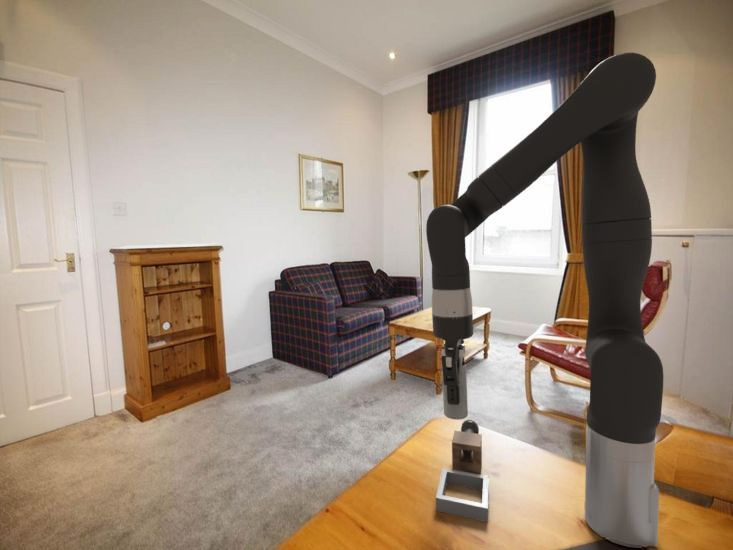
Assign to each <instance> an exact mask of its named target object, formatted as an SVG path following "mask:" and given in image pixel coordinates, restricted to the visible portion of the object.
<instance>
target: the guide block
mask: <svg viewBox="0 0 733 550" xmlns="http://www.w3.org/2000/svg"><path fill="white" fill-rule="evenodd" d="M482 435H483V434H482V433H478V434H476V433H469V432H462V431H461V430H454V432H453V437H452V440H451V441H452V442H451V459H452V460H451V462H452V463H451V464H452V466H451V467H452V470H457V471H463V472H468V473H474V474H479V475H482V467H483V466H482V465H483V464H482V463H483V458H482V457H483V456H482V455H483V451H482V449H483V445H482ZM462 449H463V450H469V451H472V452H471V454H465V453H464V452H463V450H462Z"/></svg>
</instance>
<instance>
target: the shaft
mask: <svg viewBox="0 0 733 550" xmlns="http://www.w3.org/2000/svg"><path fill="white" fill-rule="evenodd" d="M460 431H462V432H469V433H476V434H480V433H479V431H480V428H479V425H478V423H477V422H476V421H474V420H471V419H466V420H464V421H463V422H462V423H461V428H460ZM462 450H463V449H462ZM463 452H464V453H465V454H471V452H472V451H469V450H463Z"/></svg>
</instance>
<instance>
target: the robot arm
mask: <svg viewBox="0 0 733 550" xmlns="http://www.w3.org/2000/svg"><path fill="white" fill-rule="evenodd" d="M654 65H655V64H654V63H653V62H652V60H651V59H650V58H648V57H647V56H645V55H643V54H641V53H637V52H632V51H631V52H622V53H617V54H615V55H612V56H609V57H608V58H605V59H604V60H603V61H601V62H600V63H598V64H597V65H595V67H594V68H592V70H591V71H590V72H589V73H588V74H587V76H586V77H585V78H584V79H583V80H582V81H581V82H580V84H578V86H577V87H576V88H575V89H574V90H573V91H572V93H570V94H569V95H568V97H567V98H566V99H565V100H564V101H563V102H562V103H561V104H560V105H558V107H557V108H556V109H555V110H554V111H553V112H552V113H551V114H550V115H549V116H548V117H546V119H545V120H543V121H542V122H541V123H540V124H539V125H538V126H537V127H536V128H534V130H532V131H531V132H530V133H529V134H527V136H525V137H524V138H523V139H522V140H521V141H519V142H518V143H517V144H515V146H513V147H512V148H511V149H509V150H508V151H507V152H506V153H505V154H504V155H502V156H501V157H500V158H499V159H497V160H496V161H495V162H494V163H492V164H491V165H489V167H487V168H486V169H485V170H484V171H483V172H481V173H480V174H479V175H478V176H477V177H475V178H474V179H473V180H472V181H471V183H469V185H468V186H467V188H466V190H465V191H464V193H462V194H461V195H460V196H459V197H458V198H456V200H454V201H453V202H452V203H450V204H442V205H439V206H437V207H435V208H434V209H432V211H431V212H429V215H428V217H427V220H426V224H425V225H426V229H425V232H426V233H425V235H426V241H427V247H428V252H429V257H430V261H431V284H432V285H431V288H432V289H431V291H432V293H431V317H432V319H431V321H432V335H433V336H434V337H435V338H437V339H439V340H441V339H442V340H443V341H444V343H443V346H442V347H441V359H440V361H441V370H442V369H443V379H444V380H442V384H443V383H444V385H447V402H448V404H452V405H459V403H460V391H459V384H460V373H461V372H462V361H464V362H465V363H466V359H465V352H466V344H465V340H467V339H469V338H471V337H473V336H474V317H473V296H472V292H471V291H472V290H471V274H470V264H469V260H468V259H467V254H466V251H467V250H466V238H467V237H468V236H469V235H471V234H472V232H473V233H474V231H475V230H477V228H478V227H479V226H480V225H482V224H483V223H484V222H485V221H486V220H487V219H488V218H489V217H490V216H492V215H493V214H495V213H496V212H498V211H499V210H501V209H502V208H503V207H505V206H507V205H508V204H509V203H510V202H512V201H513V200H514V199H515V198H516V197H519V195H520V194H522V193H523V192H524V191H525V190H527V189H528V188H529V187H530V186H531V185H532V184H533V183H535V182H536V181H537V180H538V179H540V177H541V176H543V174H545V173H546V172H547V170H549V169H550V168H551V167H553V166H554V164H556V163H557V161H559V160H560V159H561V158H562V157H563V156H564V155H566V154H567V153H568V152H569V151H571V150H572V149H573V148H575V146H577V145H578V144H580V146H581V147H580V148H581V155H582V165H583V166H582V168H583V169H582V172H583V173H582V183H581V185H582V186H581V189H582V190H581V209H580V210H581V213H580V214H581V216H580V217H581V218H580V219H581V220H580V224H581V227H580V229H581V243H582V244H581V247H582V248H581V249H582V256H583V257H582V259H583V266H584V267H583V269H584V275H585V276H584V277H585V282H586V289H587V293H588V294H587V295H588V317H587V330H586V340H585V349H584V355H585V361H586V362H587V365H588V368H589V369H590V370H589V374H590V376H589V377H590V378H589V379H590V380H589V384H590V385H589V404H588V405H587V407H586V423H585V424H586V430H585V432H586V433H585V434H586V435H585V436H586V437H585V441H586V442H585V476H584V477H585V481H584V482H585V484H584V485H585V487H584V489H585V490H584V518H585V521H586V523H587V525H588V526H589V527H590V529H591V530H593V532H595V533H596V534H597V535H598V536H600V537H601V538H603V537H605V538H610V539H614V540H618V541H621V542H624V543H627V544H634V545H641V546H644V547H645V548H647V547H654V548H657V547H658V537H659V515H660V514H659V512H660V511H659V509H660V489H659V487H658V486H657V484H656V483H655V461H656V459H655V457H656V456H655V453H656V432H657V431H656V430H657V428H658V426H659V425H660V422H661V420H662V419H661V418H662V408H663V407H662V405H663V397H664V396H663V394H664V366H663V363H662V362H663V361H662V360H661V358H660V356H659V354H658V353H657V352H656V351H655V350H654V349H653V347H651V346H650V345H649V343H647V342H646V338H645V334H644V329H643V318H642V311H641V308H642V307H641V306H642V305H641V298H642V292H643V287H644V285H645V281H646V277H647V273H648V269H649V267H650V266H649V265H650V262H651V257H652V247H653V246H652V245H653V236H652V235H653V233H652V232H653V231H652V230H653V228H652V211H651V210H652V209H651V202H650V198H649V195H648V192H647V189H646V185H645V182H644V179H643V177H642V174H641V172H640V168H639V166H638V161H637V152H636V145H637V144H636V143H637V142H636V139H637V122H638V117H639V112H640V111H641V110H642V109H643V107H644V106H645V105H646V104H647V102H648V101H649V99H650V98H651V95H652V94H653V91H654V88H655V85H656V80H657V73H656V72H657V71H656V68H655V66H654ZM457 366H459V367H458V368H457ZM449 375H452V376H454V379H451V378H449Z"/></svg>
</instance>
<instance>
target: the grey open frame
mask: <svg viewBox="0 0 733 550" xmlns="http://www.w3.org/2000/svg"><path fill="white" fill-rule="evenodd" d="M489 482H490V476H489V475H483V474H481V475H479V474H474V473H468V472H463V471H457V470H452V469H450V468H446V467H442V469H441V474H440V479H439V482H438V486H437V490H436V495H435V510H436V511H437V512H441V513H445V514H450V515H455V516H458V517H459V516H460V517H464V518H468V519H472V520H473V519H474V520H476V521H477V520H478V521H481V522H486V523H488V522H489V496H490V495H489V494H490V483H489ZM448 484H450V485H455V486H458V487H459V486H460V487H464V488H469V489H475V490H479V491H482V496H481V497H482V498H481V502H478V501H477V502H476V501H472V500H468V499H463V498H457V497H454V496H450V495H449V496H448V495H446V493H447V486H448Z"/></svg>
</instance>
